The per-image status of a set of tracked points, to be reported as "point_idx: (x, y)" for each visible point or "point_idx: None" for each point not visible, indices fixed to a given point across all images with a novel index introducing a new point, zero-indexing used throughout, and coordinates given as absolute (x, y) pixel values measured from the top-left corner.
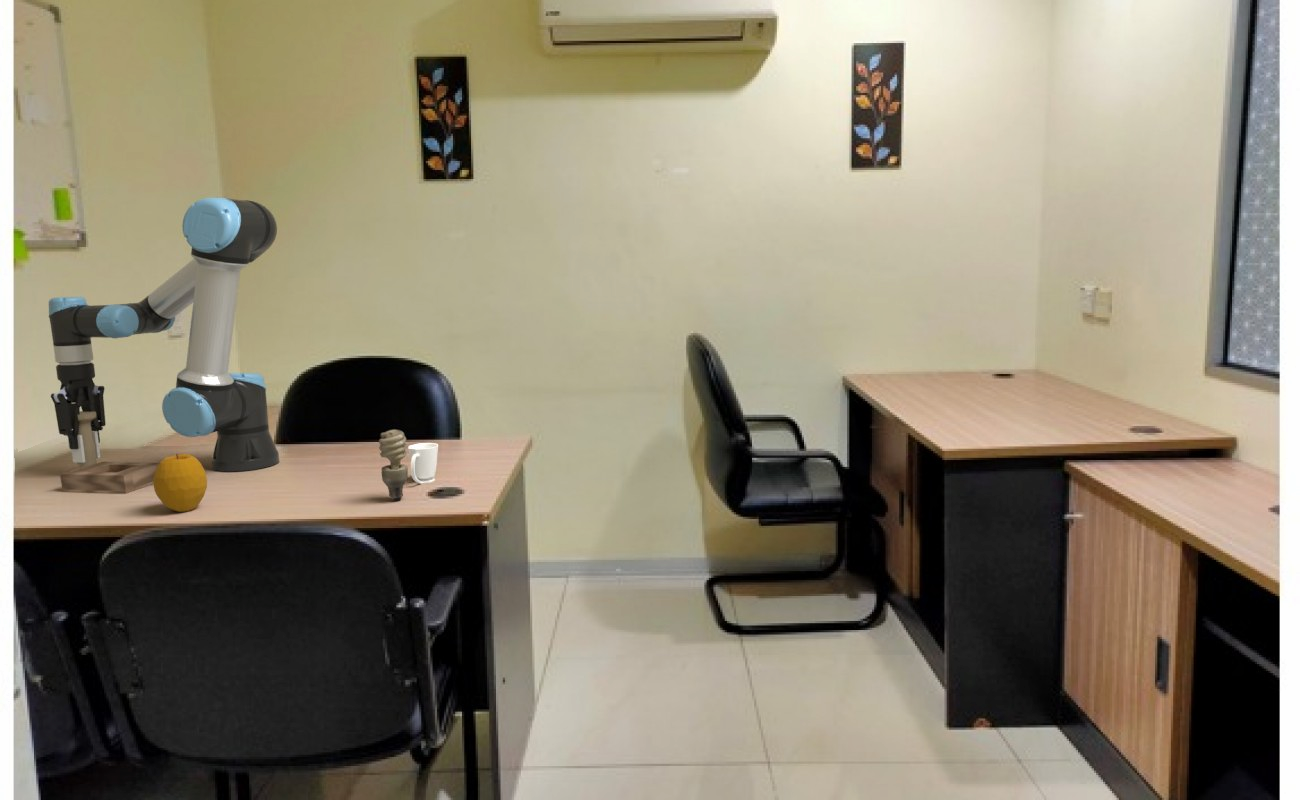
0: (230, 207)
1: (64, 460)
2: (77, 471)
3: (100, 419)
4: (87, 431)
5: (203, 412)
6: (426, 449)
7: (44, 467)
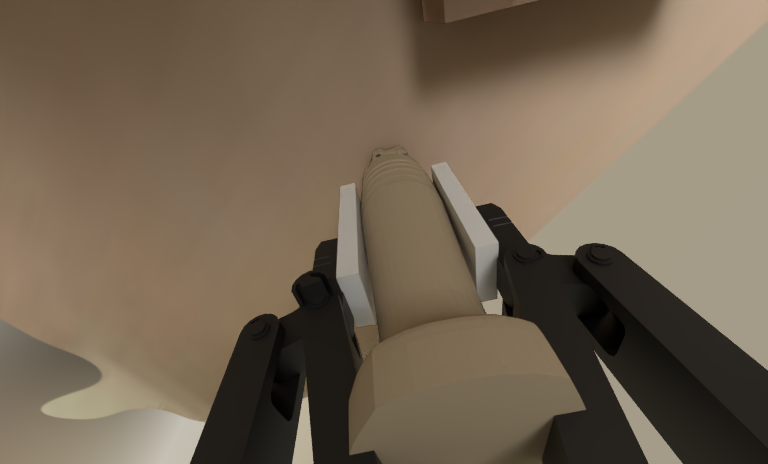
0: None
1: None
2: None
3: (272, 368)
4: (435, 262)
5: None
6: None
7: (368, 348)
